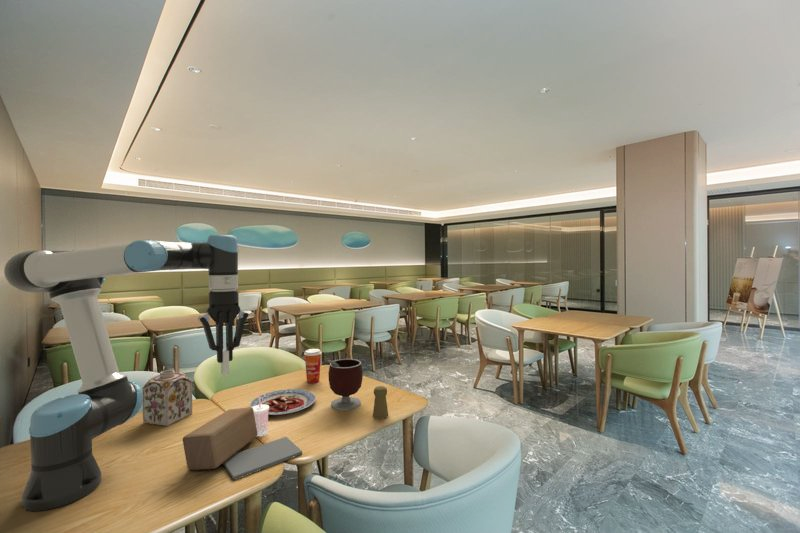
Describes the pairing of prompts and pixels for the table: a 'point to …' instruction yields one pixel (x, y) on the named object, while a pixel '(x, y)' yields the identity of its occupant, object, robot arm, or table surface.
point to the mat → (261, 457)
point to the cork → (380, 402)
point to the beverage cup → (261, 417)
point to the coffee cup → (312, 365)
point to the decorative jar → (167, 398)
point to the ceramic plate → (285, 401)
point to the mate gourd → (345, 382)
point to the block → (219, 438)
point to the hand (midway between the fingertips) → (225, 373)
